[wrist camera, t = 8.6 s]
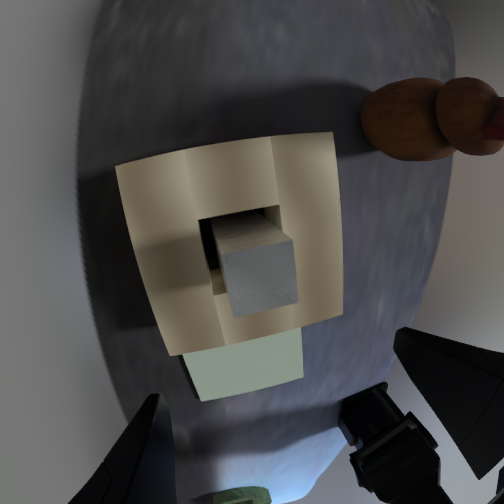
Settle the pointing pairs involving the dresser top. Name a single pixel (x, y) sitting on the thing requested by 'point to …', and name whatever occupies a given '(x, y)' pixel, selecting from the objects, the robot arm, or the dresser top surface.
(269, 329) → the hole block
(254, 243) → the pin
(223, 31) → the dresser top surface
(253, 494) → the decorative artifact
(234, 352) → the mat
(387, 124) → the wooden figurine
